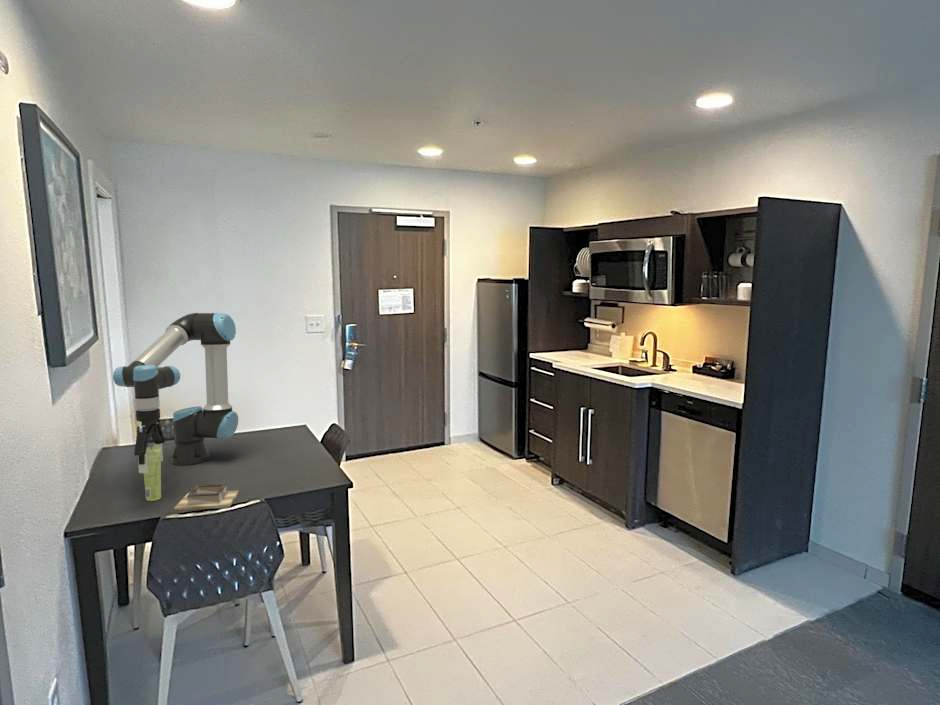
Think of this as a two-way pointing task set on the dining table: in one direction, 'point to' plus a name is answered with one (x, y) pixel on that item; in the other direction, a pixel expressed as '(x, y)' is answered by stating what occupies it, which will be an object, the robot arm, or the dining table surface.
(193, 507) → the collar board
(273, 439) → the dining table surface
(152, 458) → the tube
